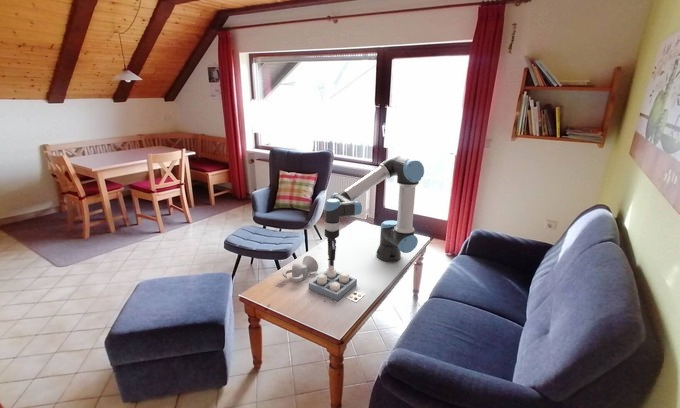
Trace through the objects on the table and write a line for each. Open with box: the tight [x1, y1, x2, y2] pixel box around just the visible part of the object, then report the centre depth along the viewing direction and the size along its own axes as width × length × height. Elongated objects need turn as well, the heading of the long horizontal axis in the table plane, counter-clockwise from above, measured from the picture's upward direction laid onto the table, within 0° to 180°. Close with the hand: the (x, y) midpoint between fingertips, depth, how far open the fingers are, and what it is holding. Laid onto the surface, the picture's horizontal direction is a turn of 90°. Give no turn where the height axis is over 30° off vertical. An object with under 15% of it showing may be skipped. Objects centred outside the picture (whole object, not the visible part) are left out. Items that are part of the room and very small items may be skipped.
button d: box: [326, 267, 337, 279], centre depth 182 cm, size 5×5×4 cm
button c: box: [339, 271, 350, 284], centre depth 178 cm, size 5×5×4 cm
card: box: [345, 290, 365, 304], centre depth 171 cm, size 8×6×1 cm
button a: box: [330, 282, 340, 292], centre depth 172 cm, size 5×5×4 cm
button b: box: [316, 273, 327, 286], centre depth 176 cm, size 5×5×4 cm
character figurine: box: [282, 255, 319, 282], centre depth 187 cm, size 13×9×20 cm
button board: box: [308, 271, 358, 303], centre depth 178 cm, size 18×18×4 cm
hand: (331, 269), depth 181 cm, fingers closed
